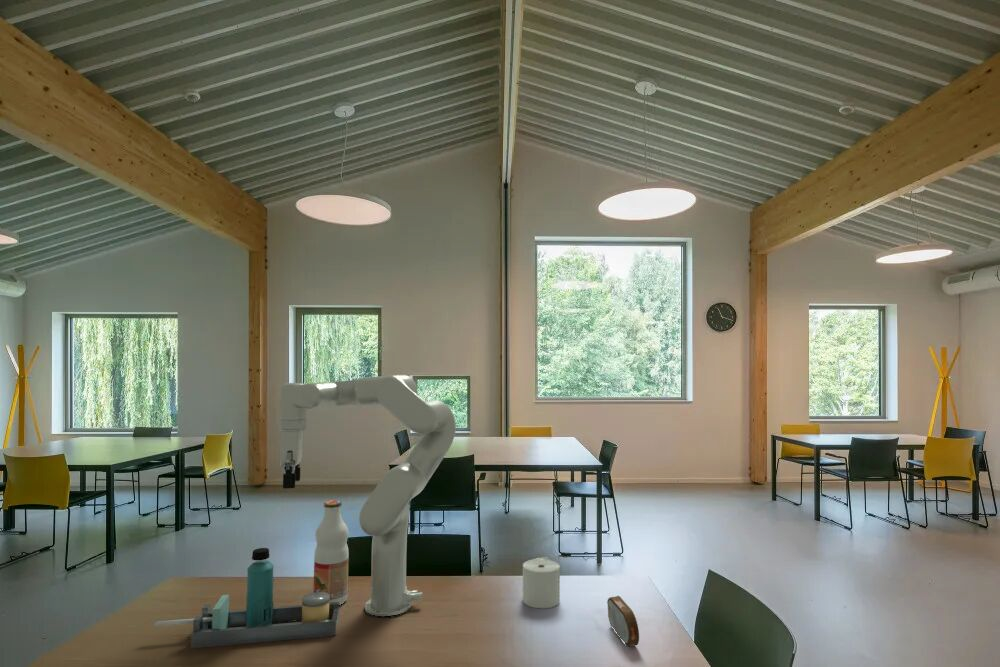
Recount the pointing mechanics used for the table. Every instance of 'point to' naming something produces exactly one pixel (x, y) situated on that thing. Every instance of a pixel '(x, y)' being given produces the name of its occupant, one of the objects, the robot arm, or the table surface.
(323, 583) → the fruit juice
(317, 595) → the jar
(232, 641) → the lane
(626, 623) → the tin
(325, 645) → the table surface
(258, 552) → the beverage bottle
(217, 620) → the pusher
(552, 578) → the toilet tissue
